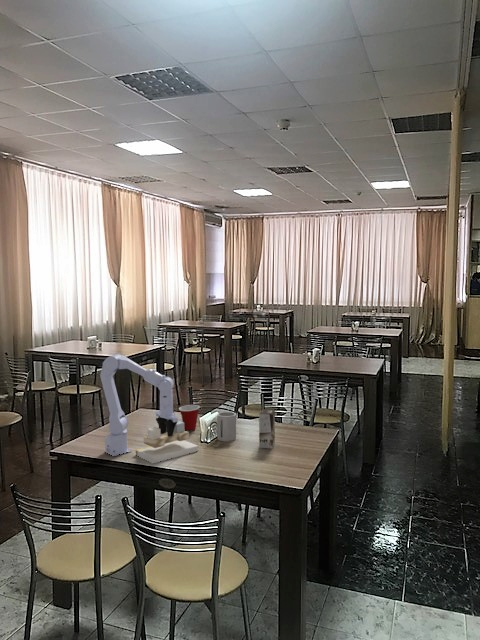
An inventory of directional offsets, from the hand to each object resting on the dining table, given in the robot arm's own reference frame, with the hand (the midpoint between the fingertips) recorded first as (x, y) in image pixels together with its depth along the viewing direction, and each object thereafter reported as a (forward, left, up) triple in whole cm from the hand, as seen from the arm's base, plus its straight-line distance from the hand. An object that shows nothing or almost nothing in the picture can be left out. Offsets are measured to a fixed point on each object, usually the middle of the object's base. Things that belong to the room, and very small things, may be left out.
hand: (166, 434), depth 234 cm
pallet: (0, 0, -3) cm, 3 cm away
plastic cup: (+29, +23, -9) cm, 38 cm away
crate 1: (-6, 0, 0) cm, 6 cm away
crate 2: (+6, 0, 0) cm, 6 cm away
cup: (+34, -1, -9) cm, 35 cm away
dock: (0, 0, -8) cm, 8 cm away
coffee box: (+41, -22, -9) cm, 47 cm away
